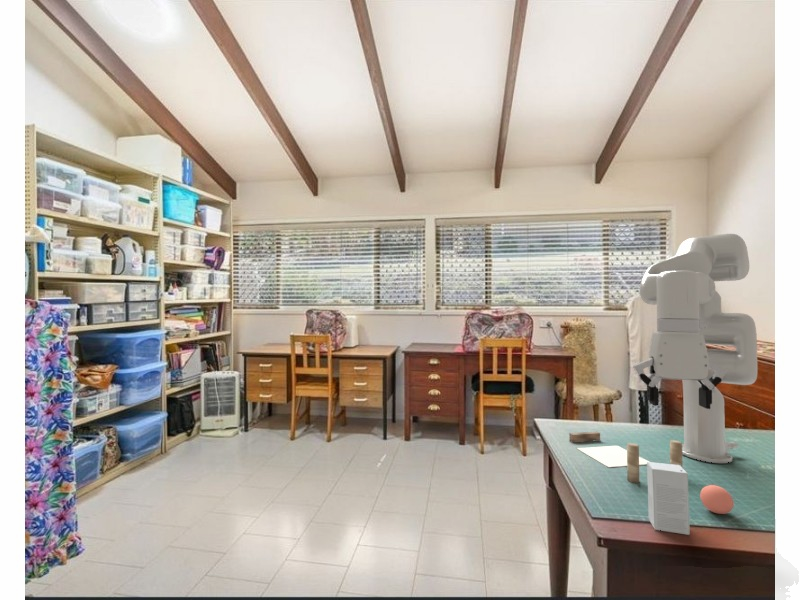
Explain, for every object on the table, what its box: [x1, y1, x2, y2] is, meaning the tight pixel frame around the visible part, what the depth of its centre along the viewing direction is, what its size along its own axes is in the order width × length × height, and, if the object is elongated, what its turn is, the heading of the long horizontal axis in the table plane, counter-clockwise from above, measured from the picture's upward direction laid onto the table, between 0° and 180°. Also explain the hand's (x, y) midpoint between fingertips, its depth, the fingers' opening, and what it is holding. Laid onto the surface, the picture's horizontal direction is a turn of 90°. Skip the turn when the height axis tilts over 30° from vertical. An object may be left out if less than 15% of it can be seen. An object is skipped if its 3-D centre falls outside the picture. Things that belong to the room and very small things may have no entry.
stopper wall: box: [569, 431, 601, 443], centre depth 125 cm, size 10×2×2 cm, turn 99°
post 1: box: [626, 442, 640, 484], centre depth 96 cm, size 3×3×9 cm
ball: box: [699, 484, 735, 515], centre depth 81 cm, size 6×6×6 cm
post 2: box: [669, 439, 684, 469], centre depth 98 cm, size 3×3×9 cm
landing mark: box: [576, 445, 650, 469], centre depth 112 cm, size 14×14×1 cm
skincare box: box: [646, 461, 691, 536], centre depth 76 cm, size 6×4×12 cm
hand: (678, 405), depth 82 cm, fingers open, 9 cm apart
